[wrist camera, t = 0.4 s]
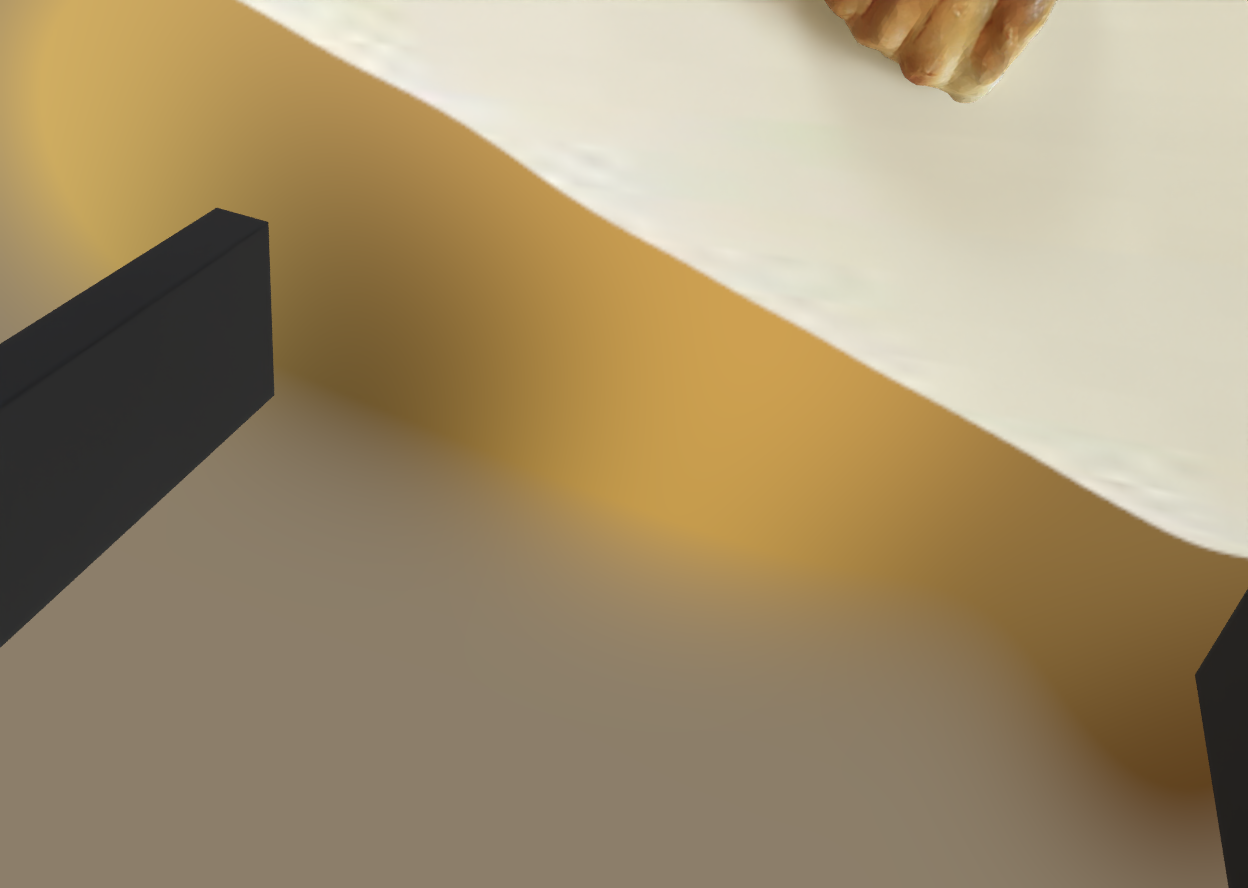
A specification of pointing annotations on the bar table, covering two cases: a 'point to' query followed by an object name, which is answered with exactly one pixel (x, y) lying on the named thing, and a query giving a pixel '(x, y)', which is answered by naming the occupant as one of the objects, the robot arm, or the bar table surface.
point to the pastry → (947, 38)
